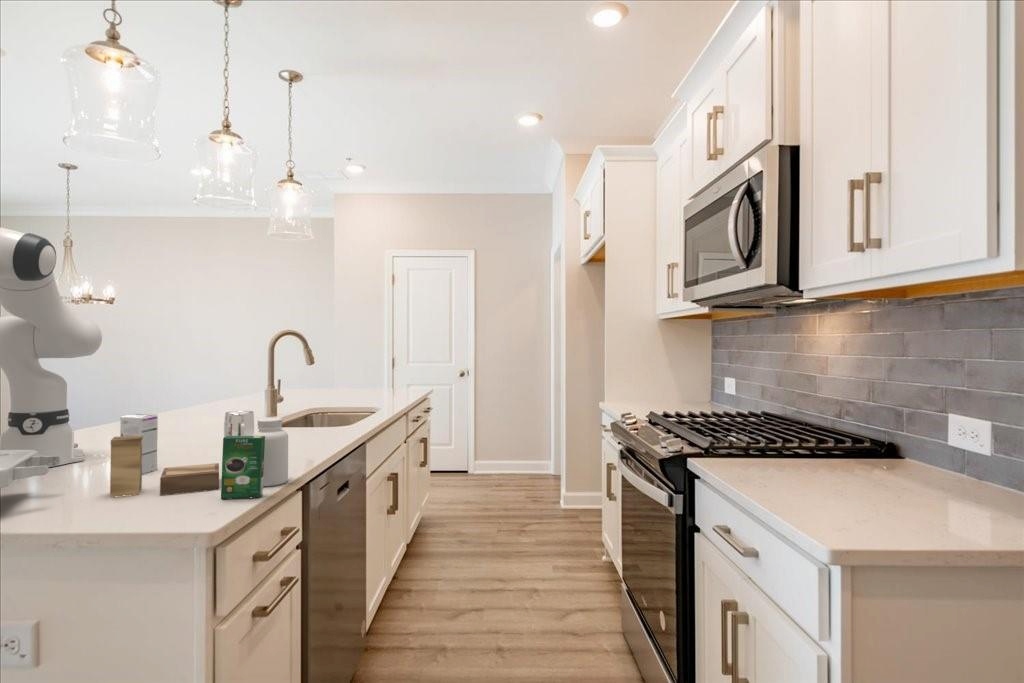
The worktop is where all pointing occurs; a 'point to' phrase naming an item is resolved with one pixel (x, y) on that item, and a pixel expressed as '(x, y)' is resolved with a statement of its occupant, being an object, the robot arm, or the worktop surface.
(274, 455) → the pill bottle
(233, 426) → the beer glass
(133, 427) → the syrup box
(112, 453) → the oak block
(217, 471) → the walnut base
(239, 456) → the coffee box
